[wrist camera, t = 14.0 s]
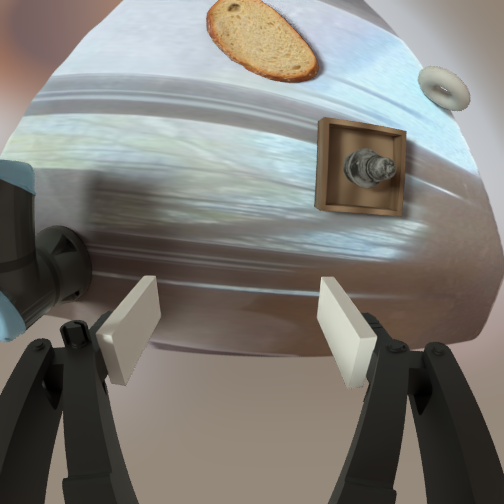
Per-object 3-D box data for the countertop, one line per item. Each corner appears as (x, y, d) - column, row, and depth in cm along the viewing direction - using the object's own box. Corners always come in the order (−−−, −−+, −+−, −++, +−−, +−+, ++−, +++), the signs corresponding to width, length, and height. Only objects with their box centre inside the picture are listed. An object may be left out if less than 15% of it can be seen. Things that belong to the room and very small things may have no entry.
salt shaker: (381, 170, 41) (420, 172, 30) (357, 193, 43) (390, 203, 31) (359, 142, 40) (392, 134, 29) (333, 165, 42) (361, 165, 30)
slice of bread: (319, 85, 39) (324, 78, 35) (205, 85, 39) (201, 78, 36) (312, 0, 34) (315, -10, 30) (208, 0, 34) (205, -10, 31)
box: (314, 206, 44) (319, 210, 40) (317, 121, 40) (323, 117, 37) (390, 212, 44) (401, 216, 40) (395, 133, 40) (406, 131, 37)
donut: (405, 83, 38) (435, 69, 28) (411, 70, 37) (441, 55, 27) (445, 117, 39) (478, 112, 29) (450, 104, 38) (483, 97, 28)
